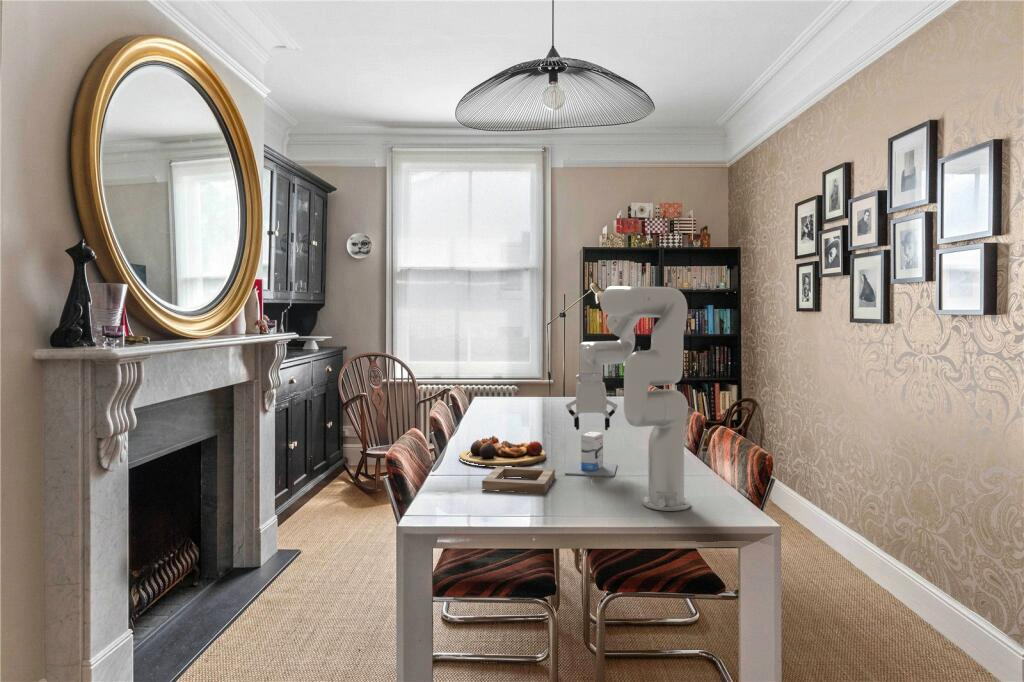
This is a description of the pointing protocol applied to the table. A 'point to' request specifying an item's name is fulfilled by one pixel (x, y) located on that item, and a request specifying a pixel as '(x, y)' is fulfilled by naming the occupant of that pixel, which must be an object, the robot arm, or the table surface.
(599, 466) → the ink box
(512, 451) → the wooden plate with food
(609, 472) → the slate grey mat
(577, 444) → the table surface
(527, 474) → the square wooden frame
